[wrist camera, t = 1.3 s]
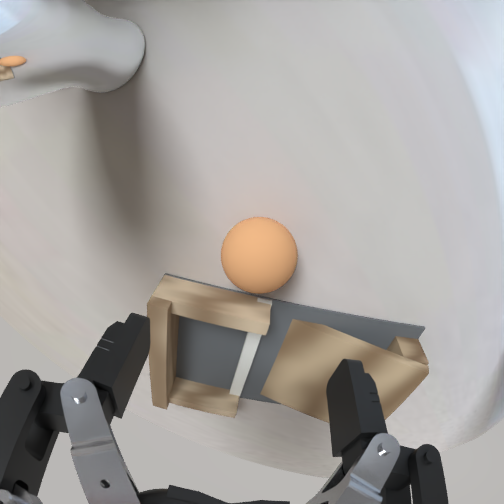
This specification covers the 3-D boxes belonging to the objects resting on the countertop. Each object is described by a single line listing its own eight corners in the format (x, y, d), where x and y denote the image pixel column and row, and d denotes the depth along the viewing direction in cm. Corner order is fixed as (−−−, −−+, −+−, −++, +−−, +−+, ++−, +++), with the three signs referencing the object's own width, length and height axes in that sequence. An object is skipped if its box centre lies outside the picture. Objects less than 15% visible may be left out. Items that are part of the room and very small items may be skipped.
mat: (424, 326, 24) (427, 332, 23) (360, 409, 31) (361, 414, 30) (165, 273, 23) (162, 278, 23) (163, 377, 30) (161, 382, 30)
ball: (303, 216, 20) (311, 247, 16) (285, 274, 22) (286, 316, 18) (234, 199, 20) (221, 226, 15) (222, 260, 22) (209, 299, 18)
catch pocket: (270, 299, 23) (269, 333, 20) (237, 396, 30) (233, 425, 27) (164, 274, 23) (147, 303, 20) (162, 378, 30) (152, 405, 27)
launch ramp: (415, 332, 25) (433, 373, 20) (364, 398, 31) (371, 435, 26) (291, 311, 25) (293, 360, 20) (260, 387, 31) (256, 428, 25)
